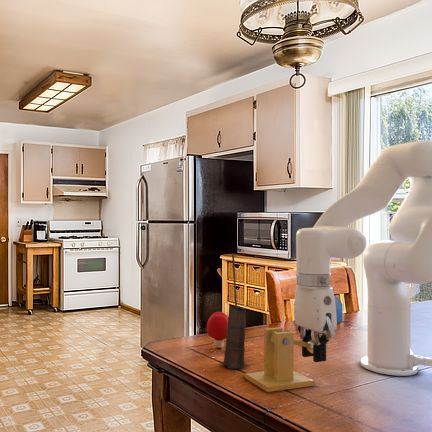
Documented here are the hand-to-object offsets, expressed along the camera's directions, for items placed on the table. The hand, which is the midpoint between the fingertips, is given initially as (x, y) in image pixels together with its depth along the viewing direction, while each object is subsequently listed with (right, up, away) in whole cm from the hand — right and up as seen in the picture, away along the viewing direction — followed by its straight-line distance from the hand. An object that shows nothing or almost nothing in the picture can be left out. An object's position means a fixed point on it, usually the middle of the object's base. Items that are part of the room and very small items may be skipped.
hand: (313, 357), depth 111 cm
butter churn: (-17, -5, +7) cm, 19 cm away
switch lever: (-5, +3, -2) cm, 6 cm away
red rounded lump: (-19, -5, +24) cm, 30 cm away
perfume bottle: (+27, -5, +60) cm, 66 cm away
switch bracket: (-9, -5, -3) cm, 11 cm away
